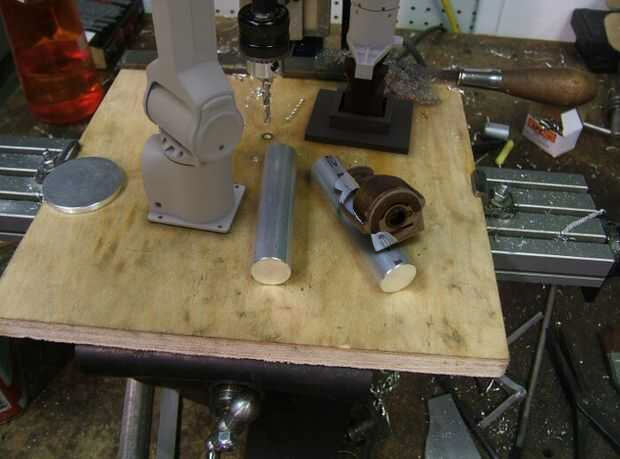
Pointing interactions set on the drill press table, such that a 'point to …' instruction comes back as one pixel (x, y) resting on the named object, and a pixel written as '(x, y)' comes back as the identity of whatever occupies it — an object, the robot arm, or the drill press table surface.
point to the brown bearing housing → (385, 204)
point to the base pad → (360, 123)
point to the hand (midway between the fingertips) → (363, 100)
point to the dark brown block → (375, 107)
